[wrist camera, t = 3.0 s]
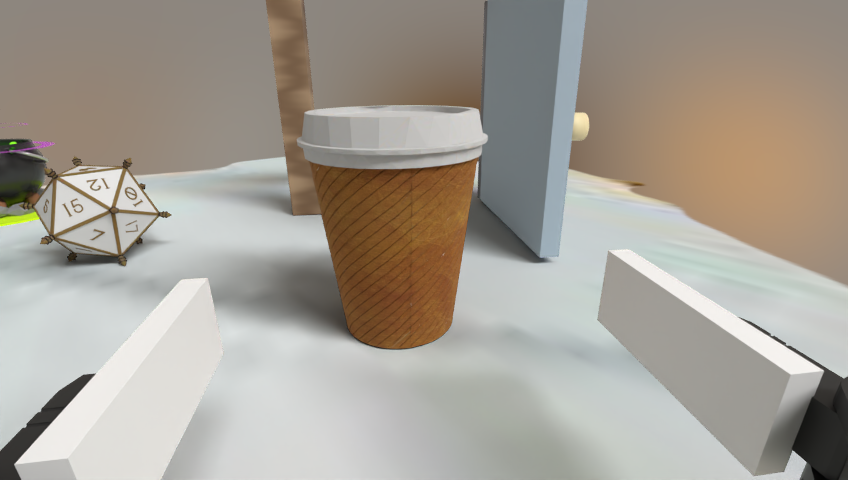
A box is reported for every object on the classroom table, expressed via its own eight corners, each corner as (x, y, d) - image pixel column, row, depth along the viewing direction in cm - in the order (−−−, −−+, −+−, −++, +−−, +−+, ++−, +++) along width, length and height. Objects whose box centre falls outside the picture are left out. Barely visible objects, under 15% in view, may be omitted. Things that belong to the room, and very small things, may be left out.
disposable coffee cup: (379, 397, 19) (362, 122, 15) (291, 314, 26) (263, 110, 22) (513, 323, 25) (529, 109, 20) (412, 271, 31) (408, 103, 27)
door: (475, 195, 49) (482, 3, 42) (505, 194, 50) (516, 3, 43) (539, 257, 32) (568, -52, 25) (582, 254, 32) (624, -50, 25)
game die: (107, 293, 37) (62, 193, 37) (201, 248, 38) (155, 153, 39) (21, 290, 28) (-36, 159, 29) (147, 232, 29) (89, 109, 30)
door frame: (293, 215, 45) (257, -64, 36) (296, 207, 48) (265, -53, 39) (525, 203, 48) (546, -54, 39) (516, 197, 51) (534, -45, 42)
